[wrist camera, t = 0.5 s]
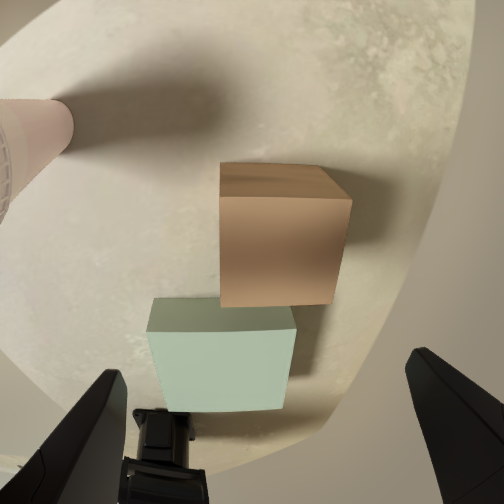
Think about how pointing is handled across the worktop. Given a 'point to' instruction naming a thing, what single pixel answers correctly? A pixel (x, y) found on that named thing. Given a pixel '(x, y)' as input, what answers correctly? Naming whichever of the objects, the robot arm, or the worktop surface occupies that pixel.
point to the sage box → (220, 354)
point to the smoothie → (29, 142)
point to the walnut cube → (280, 234)
